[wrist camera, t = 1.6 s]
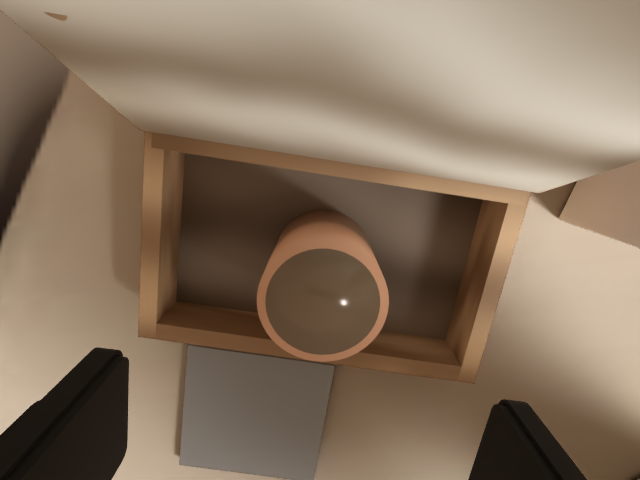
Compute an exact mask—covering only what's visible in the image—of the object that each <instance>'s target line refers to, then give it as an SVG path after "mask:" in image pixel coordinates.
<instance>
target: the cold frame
mask: <svg viewBox="0 0 640 480" xmlns="http://www.w3.org/2000/svg"><path fill="white" fill-rule="evenodd" d="M0 10H1V11H2V12H3V13H5V14H6V15H7V16H8V17H9V18H10V19H11V20H12V21H14V22H15V23H16V24H17V25H18V26H19V27H21V28H22V29H23V30H24V31H25V32H26V33H28V34H29V35H30V36H31V37H32V38H34V39H35V40H36V41H37V42H38V43H39V44H40V45H42V46H43V47H44V48H45V49H46V50H47V51H48V52H50V53H51V54H52V55H53V56H54V57H55V58H57V59H58V60H59V61H60V62H61V63H63V64H64V65H65V66H66V67H67V68H68V69H69V70H71V71H72V72H73V73H74V74H75V75H76V76H78V77H79V78H80V79H81V80H82V81H83V82H84V83H86V84H87V85H88V86H89V87H90V88H91V89H93V90H94V91H95V92H96V93H97V94H98V95H100V96H101V97H102V98H103V99H104V100H105V101H107V102H108V103H109V104H110V105H111V106H112V107H114V108H115V109H116V110H117V111H118V112H119V113H120V114H122V115H123V116H124V117H125V118H126V119H127V120H129V121H130V122H131V123H132V124H133V125H134V126H136V127H137V128H138V129H139V130H141V131H145V138H144V170H143V202H142V233H141V265H140V297H139V329H138V337H144V338H152V339H159V340H166V341H173V342H180V343H187V344H194V345H202V346H209V347H216V348H223V349H230V350H237V351H245V352H252V353H259V354H266V355H273V356H280V357H287V358H295V359H302V358H299V357H296V356H294V355H292V354H290V353H288V352H286V351H285V350H283V349H282V348H281V347H279V346H278V345H277V344H276V343H275V342H274V341H273V340H272V339H271V338H270V337H269V335H268V334H267V333H266V331H265V329H264V327H263V326H262V323H261V321H260V318H259V314H258V310H257V291H258V286H259V283H260V280H261V278H262V275H263V273H264V271H265V268H266V266H267V264H268V262H269V259H270V257H271V255H272V252H273V250H274V248H275V246H276V243H277V241H278V239H279V237H280V235H281V233H282V231H283V230H284V228H285V227H286V226H287V225H288V224H289V223H290V222H291V221H292V220H293V219H295V218H296V217H298V216H300V215H302V214H304V213H307V212H310V211H314V210H332V211H336V212H339V213H342V214H344V215H346V216H348V217H349V218H351V219H352V220H354V221H355V222H356V223H357V224H358V225H359V226H360V227H361V229H362V230H363V232H364V233H365V235H366V237H367V239H368V242H369V244H370V246H371V249H372V251H373V253H374V256H375V258H376V260H377V263H378V265H379V267H380V270H381V272H382V274H383V277H384V279H385V281H386V285H387V288H388V294H389V307H388V314H387V317H386V320H385V323H384V325H383V327H382V329H381V330H380V332H379V334H378V335H377V336H376V338H375V339H374V340H373V341H372V342H371V343H370V344H369V345H368V346H367V347H365V348H364V349H362V350H361V351H359V352H358V353H356V354H354V355H352V356H349V357H347V358H344V359H340V360H336V361H327V362H323V363H330V364H338V365H345V366H352V367H359V368H366V369H373V370H380V371H388V372H395V373H402V374H409V375H416V376H423V377H431V378H438V379H445V380H452V381H459V382H466V383H473V384H474V381H475V378H476V375H477V371H478V368H479V365H480V361H481V358H482V355H483V351H484V348H485V345H486V341H487V338H488V335H489V331H490V328H491V325H492V321H493V318H494V315H495V311H496V308H497V305H498V301H499V298H500V295H501V291H502V288H503V285H504V281H505V278H506V275H507V271H508V268H509V265H510V261H511V258H512V255H513V251H514V248H515V245H516V241H517V238H518V235H519V231H520V228H521V225H522V221H523V218H524V215H525V211H526V208H527V205H528V201H529V198H530V195H531V192H535V193H541V192H545V191H548V190H551V189H554V188H557V187H560V186H563V185H566V184H569V183H572V182H575V181H578V180H581V179H584V178H587V177H590V176H593V175H597V174H600V173H603V172H606V171H609V170H612V169H615V168H618V167H621V166H624V165H627V164H630V163H633V162H636V161H639V160H640V0H0ZM302 360H305V359H302ZM309 361H310V360H309ZM316 362H319V361H316Z"/></svg>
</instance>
